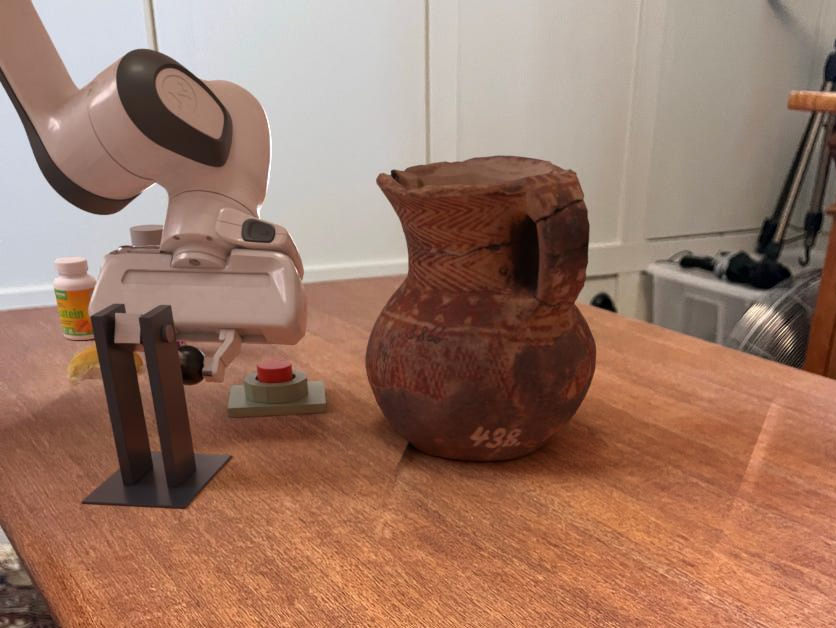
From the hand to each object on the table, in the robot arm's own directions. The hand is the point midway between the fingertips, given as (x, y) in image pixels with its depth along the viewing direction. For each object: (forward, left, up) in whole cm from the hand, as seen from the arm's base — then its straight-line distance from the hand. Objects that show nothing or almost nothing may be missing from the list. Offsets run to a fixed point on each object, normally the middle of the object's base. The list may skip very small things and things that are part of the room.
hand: (187, 378), depth 93 cm
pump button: (+8, +12, -4) cm, 14 cm away
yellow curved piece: (-12, +28, -8) cm, 31 cm away
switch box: (+8, +12, -8) cm, 16 cm away
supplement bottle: (-18, +49, -8) cm, 53 cm away
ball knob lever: (-1, -5, +2) cm, 5 cm away
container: (-6, +38, -8) cm, 39 cm away
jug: (+27, +1, -8) cm, 29 cm away
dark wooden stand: (-3, -8, -8) cm, 12 cm away
